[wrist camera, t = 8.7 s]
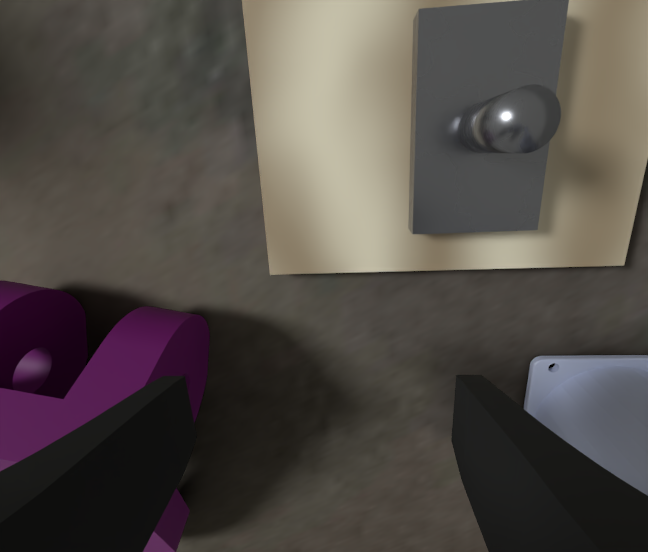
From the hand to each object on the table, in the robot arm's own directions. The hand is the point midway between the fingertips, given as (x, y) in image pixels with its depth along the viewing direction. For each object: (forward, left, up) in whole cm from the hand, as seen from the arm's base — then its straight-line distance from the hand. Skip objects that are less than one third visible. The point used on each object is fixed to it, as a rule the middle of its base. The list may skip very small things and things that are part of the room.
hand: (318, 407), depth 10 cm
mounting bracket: (+13, +8, -10) cm, 18 cm away
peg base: (-6, -7, -8) cm, 12 cm away
